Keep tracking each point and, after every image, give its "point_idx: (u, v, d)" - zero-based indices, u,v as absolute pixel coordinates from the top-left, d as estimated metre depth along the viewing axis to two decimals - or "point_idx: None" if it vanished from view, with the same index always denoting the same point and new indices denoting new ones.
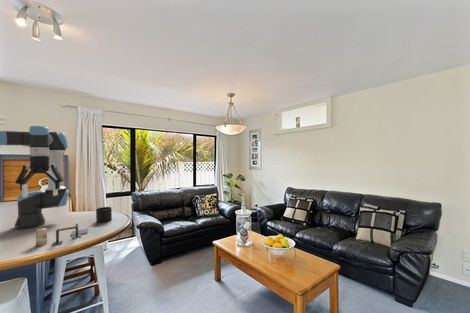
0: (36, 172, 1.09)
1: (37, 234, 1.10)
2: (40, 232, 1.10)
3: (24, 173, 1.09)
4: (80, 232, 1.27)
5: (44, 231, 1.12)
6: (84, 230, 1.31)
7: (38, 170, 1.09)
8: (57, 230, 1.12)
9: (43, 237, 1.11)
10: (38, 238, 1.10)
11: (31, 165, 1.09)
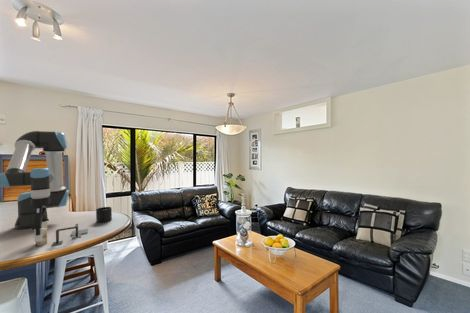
0: None
1: None
2: None
3: None
4: (80, 232, 1.27)
5: (44, 231, 1.12)
6: (84, 230, 1.31)
7: None
8: (57, 230, 1.12)
9: (43, 237, 1.11)
10: None
11: None
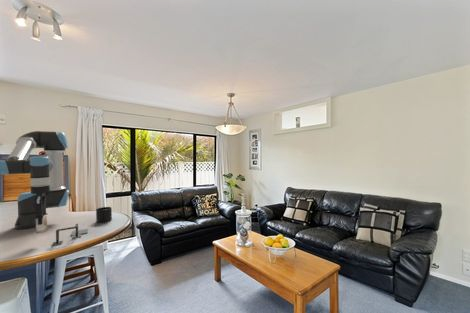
0: None
1: None
2: None
3: None
4: (80, 232, 1.27)
5: (44, 218, 1.12)
6: (84, 230, 1.31)
7: None
8: (57, 230, 1.12)
9: None
10: None
11: None
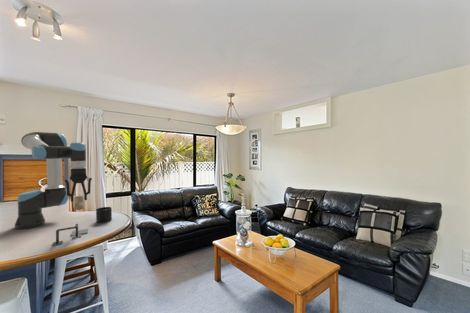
0: (76, 182, 1.27)
1: (82, 199, 1.28)
2: None
3: None
4: (80, 232, 1.27)
5: None
6: (84, 230, 1.31)
7: (78, 180, 1.27)
8: (57, 230, 1.12)
9: None
10: None
11: (71, 176, 1.25)
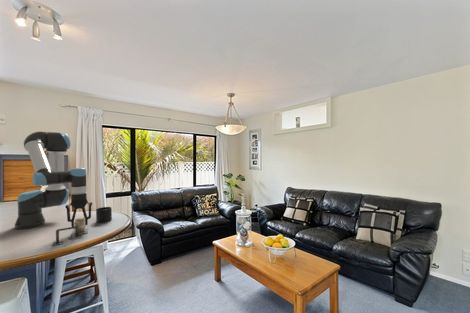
0: (77, 208, 1.27)
1: (83, 221, 1.28)
2: None
3: (69, 211, 1.26)
4: None
5: None
6: None
7: (79, 206, 1.27)
8: (57, 230, 1.12)
9: None
10: (83, 225, 1.29)
11: (71, 202, 1.26)
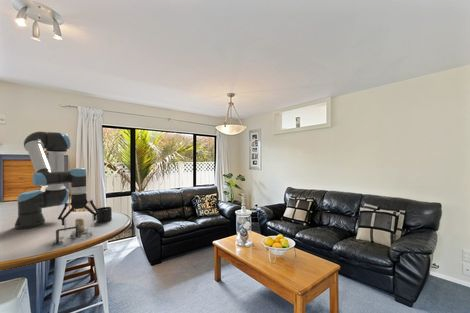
0: (77, 208, 1.27)
1: (83, 221, 1.28)
2: None
3: (65, 209, 1.25)
4: None
5: None
6: (84, 230, 1.31)
7: (79, 206, 1.27)
8: (57, 230, 1.12)
9: None
10: (83, 225, 1.29)
11: (72, 202, 1.26)
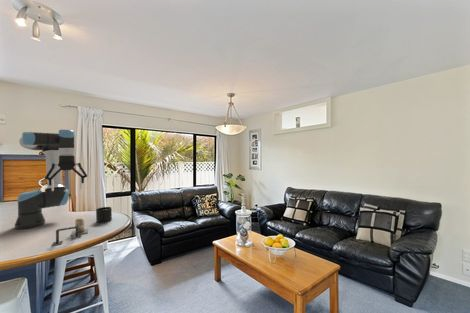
0: (64, 169, 1.27)
1: (83, 221, 1.28)
2: None
3: (52, 170, 1.25)
4: None
5: None
6: (84, 230, 1.31)
7: (66, 167, 1.28)
8: (57, 230, 1.12)
9: None
10: (83, 225, 1.29)
11: (60, 163, 1.26)
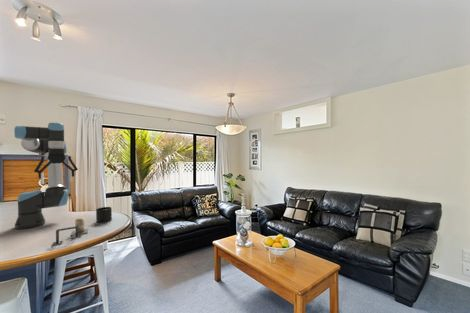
0: (54, 162, 1.27)
1: (83, 221, 1.28)
2: None
3: (42, 163, 1.25)
4: None
5: None
6: (84, 230, 1.31)
7: (56, 160, 1.28)
8: (57, 230, 1.12)
9: None
10: (83, 225, 1.29)
11: (49, 156, 1.26)
